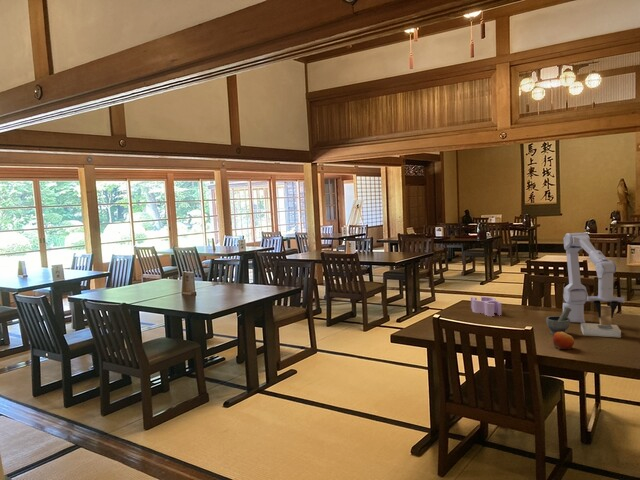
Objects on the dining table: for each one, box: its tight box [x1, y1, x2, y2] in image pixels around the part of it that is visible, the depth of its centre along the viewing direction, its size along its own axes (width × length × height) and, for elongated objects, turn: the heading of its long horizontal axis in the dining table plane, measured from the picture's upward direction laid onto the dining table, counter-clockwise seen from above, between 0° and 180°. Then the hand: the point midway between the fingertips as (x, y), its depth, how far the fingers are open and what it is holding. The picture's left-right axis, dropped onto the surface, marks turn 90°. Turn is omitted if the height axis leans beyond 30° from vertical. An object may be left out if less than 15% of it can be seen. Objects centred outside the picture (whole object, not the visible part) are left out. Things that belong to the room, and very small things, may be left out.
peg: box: [599, 305, 612, 326], centre depth 222 cm, size 4×4×8 cm
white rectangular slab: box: [580, 322, 622, 339], centre depth 223 cm, size 14×10×3 cm
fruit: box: [552, 332, 575, 351], centre depth 204 cm, size 8×8×8 cm
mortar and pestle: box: [545, 307, 571, 335], centre depth 225 cm, size 11×9×12 cm
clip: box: [470, 295, 502, 317], centre depth 270 cm, size 20×12×7 cm, turn 13°
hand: (605, 317), depth 222 cm, fingers closed on peg, 4 cm apart
